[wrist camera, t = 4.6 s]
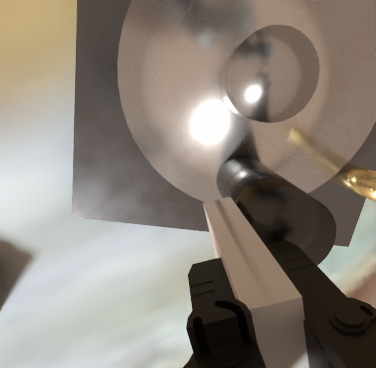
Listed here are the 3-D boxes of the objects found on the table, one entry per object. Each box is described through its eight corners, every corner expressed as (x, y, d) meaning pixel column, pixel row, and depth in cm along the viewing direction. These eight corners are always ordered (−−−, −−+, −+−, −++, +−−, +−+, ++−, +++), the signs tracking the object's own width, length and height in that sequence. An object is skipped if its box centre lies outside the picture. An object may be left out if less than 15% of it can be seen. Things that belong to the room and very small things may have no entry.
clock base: (92, -146, 15) (31, -340, 9) (434, -64, 17) (598, -169, 11) (80, 206, 21) (39, 253, 15) (334, 235, 24) (398, 287, 17)
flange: (126, -99, 14) (48, -451, 5) (411, -51, 15) (737, -261, 6) (117, 225, 19) (70, 328, 10) (328, 239, 20) (445, 341, 12)
